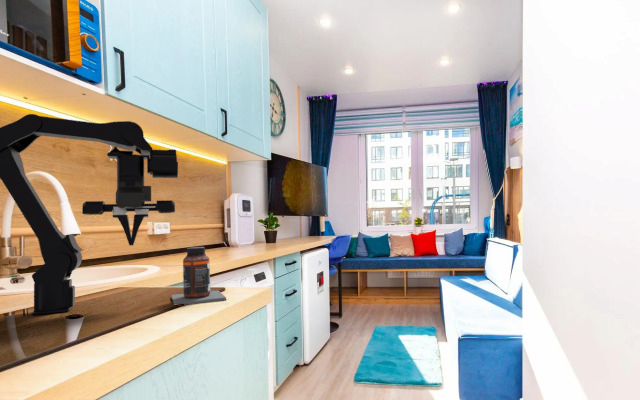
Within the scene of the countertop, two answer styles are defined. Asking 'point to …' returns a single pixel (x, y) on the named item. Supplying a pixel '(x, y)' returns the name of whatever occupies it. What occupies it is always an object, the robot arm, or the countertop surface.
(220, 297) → the charcoal mat
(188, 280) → the supplement bottle
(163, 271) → the countertop surface
